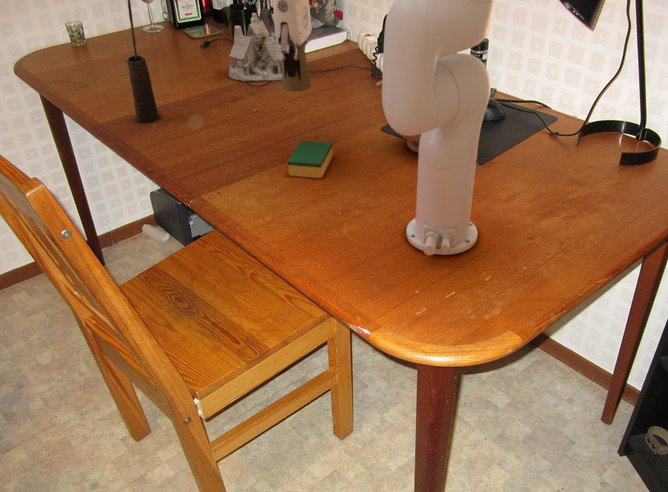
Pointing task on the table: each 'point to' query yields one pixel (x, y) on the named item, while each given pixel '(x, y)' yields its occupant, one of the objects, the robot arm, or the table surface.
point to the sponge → (310, 159)
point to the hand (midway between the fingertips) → (296, 74)
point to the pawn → (295, 82)
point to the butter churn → (141, 83)
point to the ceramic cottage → (255, 54)
